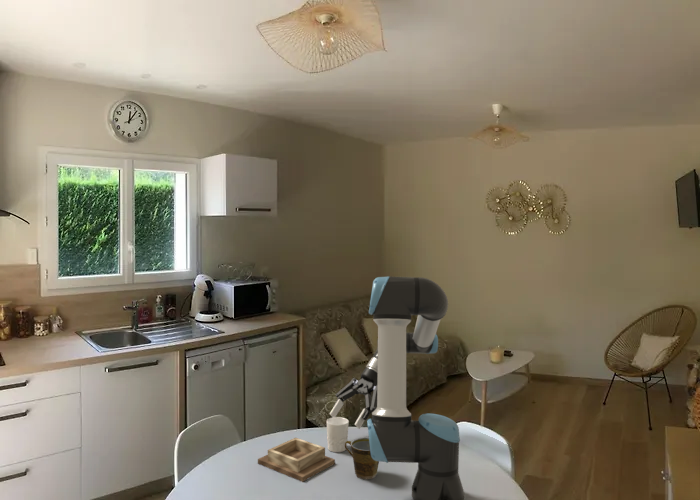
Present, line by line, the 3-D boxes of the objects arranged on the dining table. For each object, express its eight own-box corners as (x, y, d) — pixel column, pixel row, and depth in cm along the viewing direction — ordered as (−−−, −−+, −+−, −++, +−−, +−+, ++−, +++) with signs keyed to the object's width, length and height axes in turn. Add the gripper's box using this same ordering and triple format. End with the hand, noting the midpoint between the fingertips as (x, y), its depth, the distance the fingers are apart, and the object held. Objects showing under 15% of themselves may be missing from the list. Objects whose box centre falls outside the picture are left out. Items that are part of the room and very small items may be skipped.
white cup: (322, 446, 187) (323, 418, 186) (342, 442, 190) (343, 415, 190) (331, 454, 180) (331, 426, 179) (351, 451, 183) (352, 423, 182)
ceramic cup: (386, 472, 167) (387, 441, 167) (372, 485, 158) (372, 453, 158) (352, 462, 174) (352, 433, 173) (336, 474, 165) (336, 443, 165)
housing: (334, 463, 173) (335, 449, 172) (302, 481, 160) (302, 465, 160) (291, 447, 185) (291, 434, 184) (257, 463, 172) (257, 448, 172)
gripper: (403, 385, 190) (373, 436, 180) (356, 371, 208) (327, 417, 199) (393, 374, 186) (362, 425, 177) (346, 360, 205) (316, 406, 195)
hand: (344, 421), depth 188 cm, fingers open, 13 cm apart
